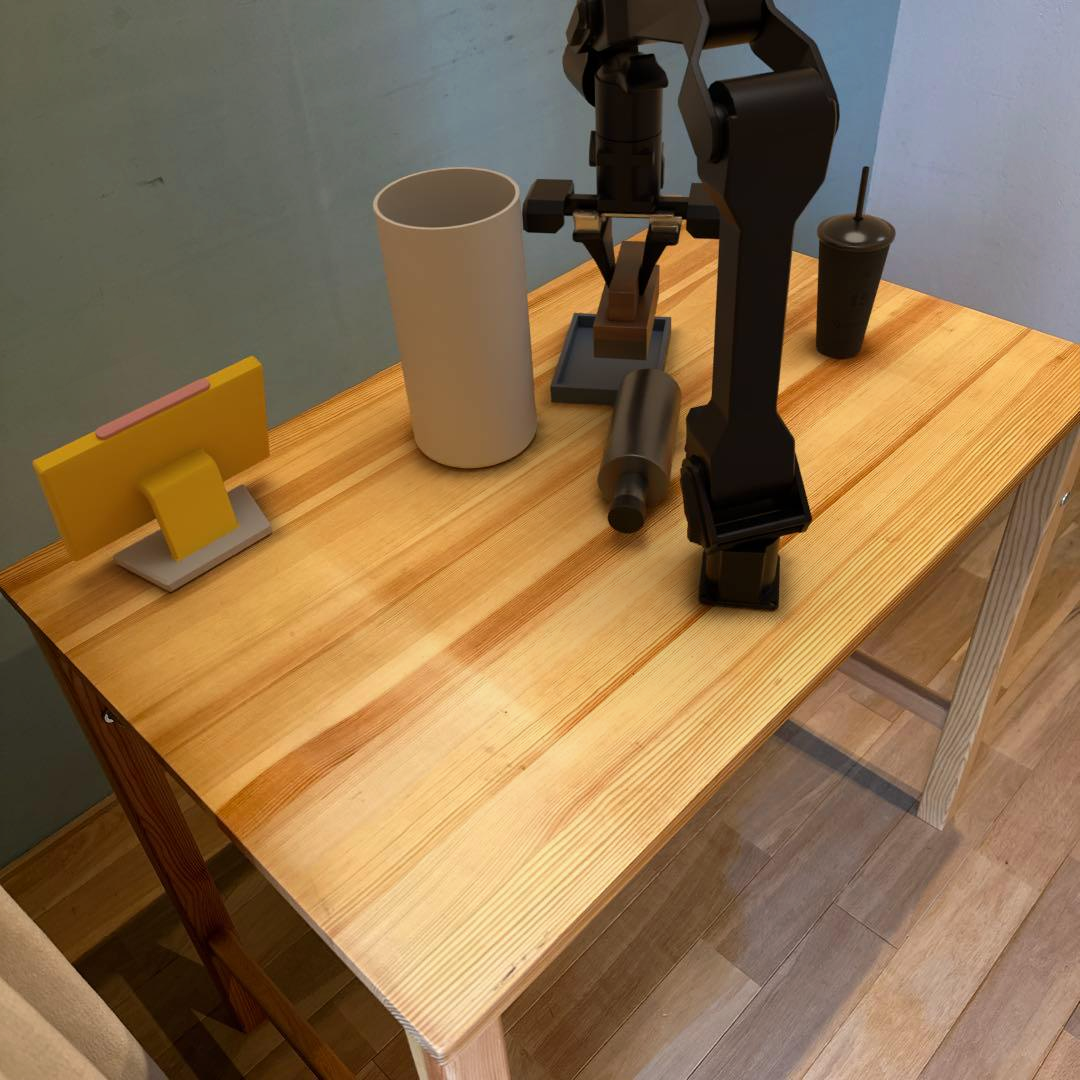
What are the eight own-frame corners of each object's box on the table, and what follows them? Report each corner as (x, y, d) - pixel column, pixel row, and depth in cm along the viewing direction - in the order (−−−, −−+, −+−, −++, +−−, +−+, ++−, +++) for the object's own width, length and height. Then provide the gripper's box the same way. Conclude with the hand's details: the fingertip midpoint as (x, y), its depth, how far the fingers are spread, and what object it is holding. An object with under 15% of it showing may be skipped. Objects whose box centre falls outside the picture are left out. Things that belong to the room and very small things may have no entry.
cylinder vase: (411, 476, 98) (366, 234, 81) (418, 403, 107) (379, 172, 90) (539, 467, 98) (520, 223, 81) (535, 395, 107) (518, 162, 90)
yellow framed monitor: (269, 474, 99) (226, 335, 89) (315, 508, 95) (275, 366, 84) (80, 579, 90) (7, 436, 79) (121, 622, 85) (49, 477, 75)
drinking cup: (788, 341, 112) (809, 163, 98) (844, 322, 114) (872, 146, 100) (830, 373, 107) (859, 190, 93) (888, 353, 109) (924, 171, 95)
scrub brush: (646, 360, 95) (647, 299, 90) (593, 357, 95) (592, 296, 91) (659, 295, 103) (660, 236, 99) (610, 293, 104) (610, 235, 99)
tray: (657, 408, 104) (657, 392, 102) (551, 402, 106) (550, 386, 104) (671, 332, 115) (671, 316, 113) (574, 327, 117) (573, 312, 115)
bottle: (680, 423, 101) (682, 369, 97) (661, 550, 88) (663, 494, 84) (617, 419, 103) (617, 366, 98) (589, 544, 89) (587, 488, 85)
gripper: (743, 96, 90) (730, 256, 101) (539, 94, 93) (547, 249, 104) (737, 146, 82) (724, 313, 93) (515, 141, 86) (527, 304, 96)
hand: (627, 292), depth 97 cm, fingers closed on scrub brush, 2 cm apart
